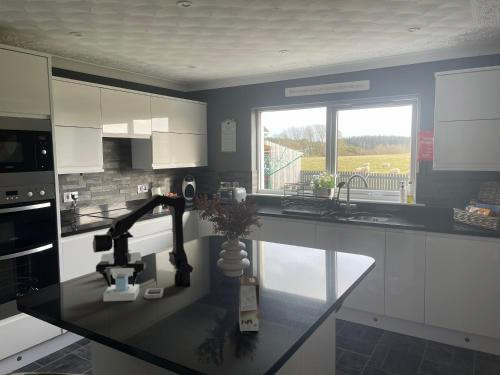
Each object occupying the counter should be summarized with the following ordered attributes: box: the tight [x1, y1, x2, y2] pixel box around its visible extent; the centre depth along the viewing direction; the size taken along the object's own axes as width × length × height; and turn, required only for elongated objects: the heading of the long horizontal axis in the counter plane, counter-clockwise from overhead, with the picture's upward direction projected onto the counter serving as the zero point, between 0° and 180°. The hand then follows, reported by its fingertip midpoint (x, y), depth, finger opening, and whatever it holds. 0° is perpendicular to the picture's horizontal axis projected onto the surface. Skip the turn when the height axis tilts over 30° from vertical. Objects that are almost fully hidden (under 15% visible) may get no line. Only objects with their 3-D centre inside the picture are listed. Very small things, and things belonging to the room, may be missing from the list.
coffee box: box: [238, 275, 260, 333], centre depth 131 cm, size 9×6×16 cm
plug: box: [114, 274, 129, 291], centre depth 157 cm, size 4×4×9 cm
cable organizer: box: [100, 248, 142, 280], centre depth 182 cm, size 15×11×12 cm
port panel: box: [102, 283, 140, 302], centre depth 157 cm, size 12×10×3 cm
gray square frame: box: [144, 287, 165, 299], centre depth 159 cm, size 7×7×2 cm
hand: (121, 286), depth 157 cm, fingers open, 9 cm apart
